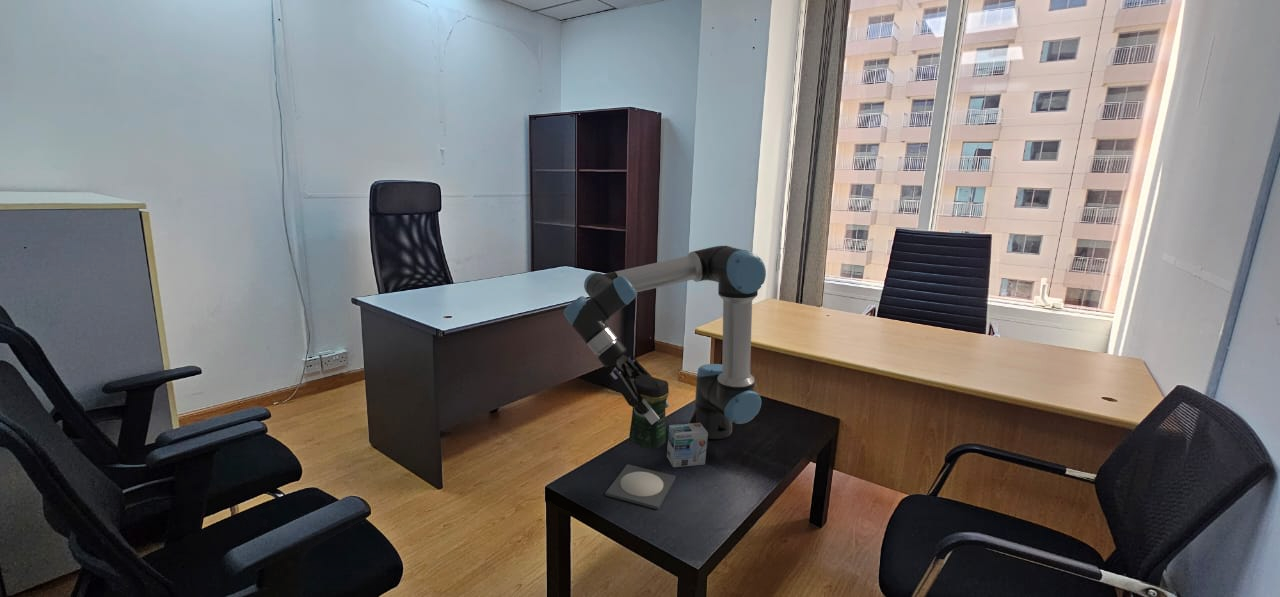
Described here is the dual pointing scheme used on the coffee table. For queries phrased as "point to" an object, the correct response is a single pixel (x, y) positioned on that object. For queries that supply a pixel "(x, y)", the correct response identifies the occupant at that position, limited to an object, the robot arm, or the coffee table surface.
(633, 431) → the coffee jar
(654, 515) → the coffee table surface
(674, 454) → the light bulb box
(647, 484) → the marker mat
